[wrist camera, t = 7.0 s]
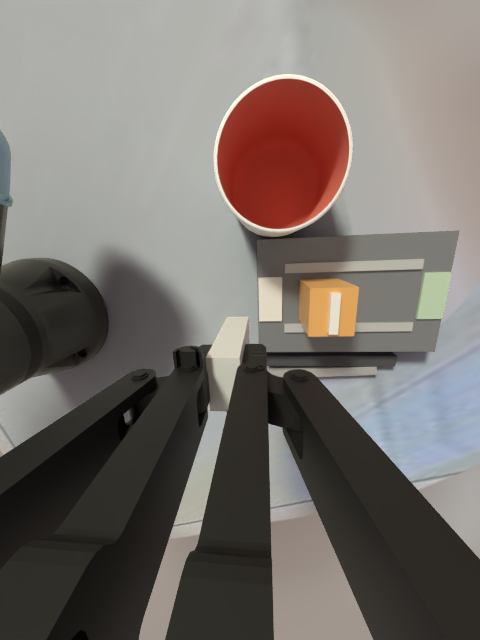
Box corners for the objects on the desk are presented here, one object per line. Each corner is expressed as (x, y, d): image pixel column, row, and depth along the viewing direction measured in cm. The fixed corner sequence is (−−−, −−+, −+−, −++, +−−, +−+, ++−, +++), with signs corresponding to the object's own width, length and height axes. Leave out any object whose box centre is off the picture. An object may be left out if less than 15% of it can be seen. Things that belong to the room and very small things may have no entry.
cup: (285, 254, 29) (297, 258, 19) (213, 207, 28) (189, 186, 18) (339, 172, 26) (385, 129, 16) (261, 117, 25) (261, 37, 16)
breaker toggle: (298, 318, 28) (309, 339, 21) (299, 279, 26) (311, 289, 20) (334, 317, 27) (356, 338, 21) (337, 278, 26) (362, 288, 20)
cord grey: (267, 375, 34) (267, 378, 33) (266, 367, 33) (266, 371, 32) (373, 370, 32) (376, 374, 31) (373, 362, 32) (377, 366, 31)
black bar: (266, 361, 33) (267, 365, 32) (266, 352, 33) (267, 356, 31) (390, 361, 32) (395, 366, 30) (391, 352, 31) (396, 356, 30)
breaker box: (259, 342, 32) (258, 353, 29) (257, 240, 29) (256, 239, 25) (418, 341, 30) (436, 352, 27) (438, 232, 27) (461, 230, 24)
